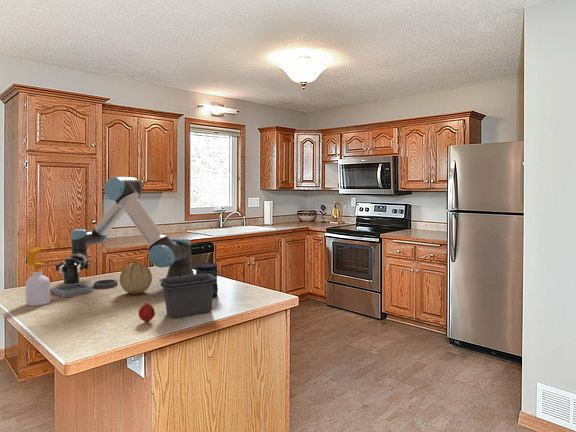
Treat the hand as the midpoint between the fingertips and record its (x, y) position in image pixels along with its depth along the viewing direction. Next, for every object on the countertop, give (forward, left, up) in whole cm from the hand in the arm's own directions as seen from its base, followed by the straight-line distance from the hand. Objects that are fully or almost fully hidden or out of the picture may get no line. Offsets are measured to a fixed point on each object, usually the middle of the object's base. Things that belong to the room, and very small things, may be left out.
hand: (69, 270), depth 198 cm
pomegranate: (-63, +1, -12) cm, 64 cm away
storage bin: (-65, -17, -12) cm, 68 cm away
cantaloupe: (-22, -21, -12) cm, 33 cm away
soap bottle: (-3, +15, -12) cm, 20 cm away
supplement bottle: (+4, -3, -7) cm, 9 cm away
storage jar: (-53, -38, -12) cm, 66 cm away
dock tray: (+4, -3, -12) cm, 13 cm away
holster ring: (+4, -20, -12) cm, 23 cm away
